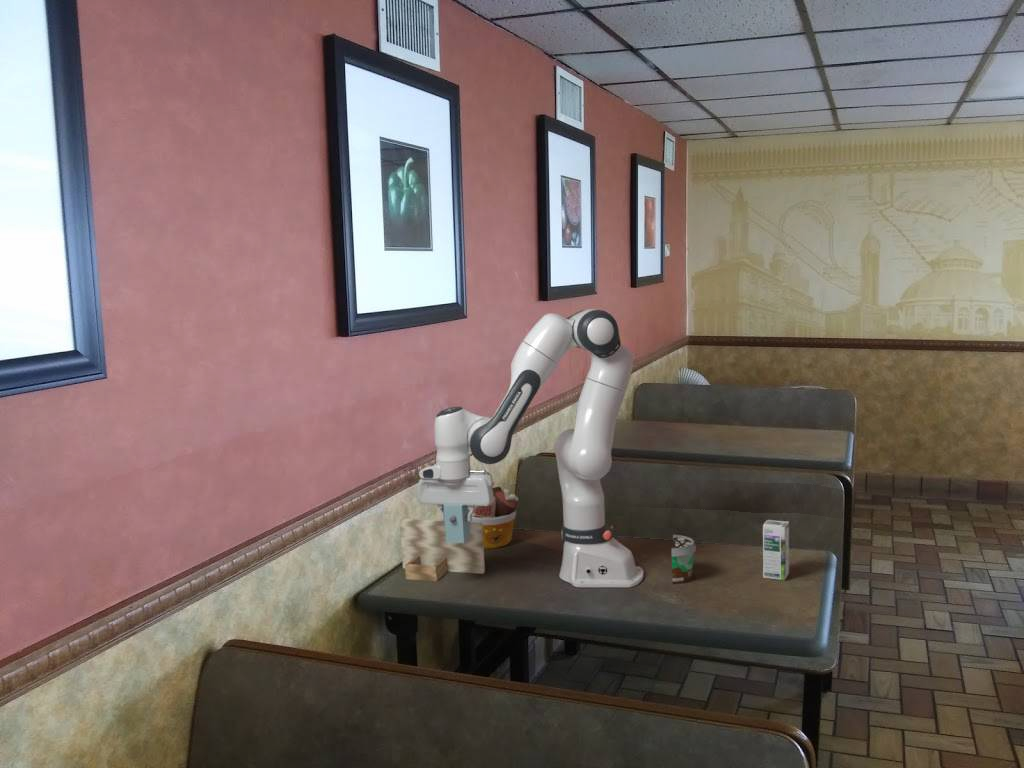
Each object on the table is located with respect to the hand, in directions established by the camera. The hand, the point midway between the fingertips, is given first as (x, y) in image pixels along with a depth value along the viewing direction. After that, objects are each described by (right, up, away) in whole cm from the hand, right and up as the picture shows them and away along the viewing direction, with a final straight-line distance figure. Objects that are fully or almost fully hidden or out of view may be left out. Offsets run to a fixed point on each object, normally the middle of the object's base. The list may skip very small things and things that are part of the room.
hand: (457, 520), depth 245 cm
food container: (+60, -16, +1) cm, 62 cm away
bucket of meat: (+8, -13, +38) cm, 40 cm away
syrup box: (+84, -15, 0) cm, 85 cm away
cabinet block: (0, -5, +1) cm, 5 cm away
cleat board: (-6, -17, +12) cm, 21 cm away
